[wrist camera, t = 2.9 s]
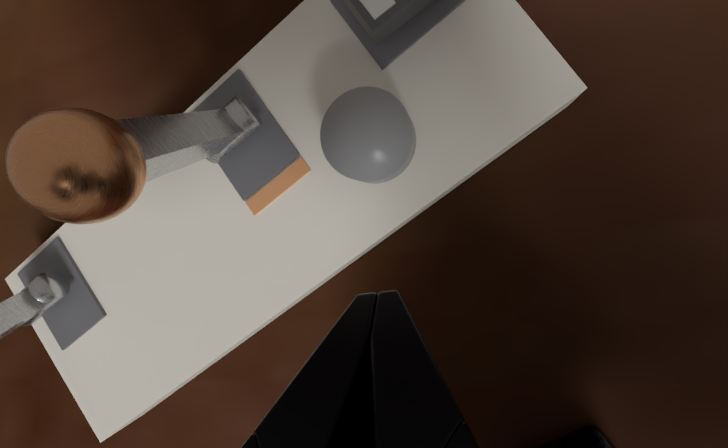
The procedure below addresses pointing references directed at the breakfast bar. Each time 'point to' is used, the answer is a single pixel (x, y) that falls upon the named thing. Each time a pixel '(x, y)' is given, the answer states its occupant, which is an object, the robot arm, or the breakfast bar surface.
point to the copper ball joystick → (113, 156)
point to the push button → (368, 135)
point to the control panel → (284, 194)
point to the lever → (32, 301)
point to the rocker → (384, 15)
